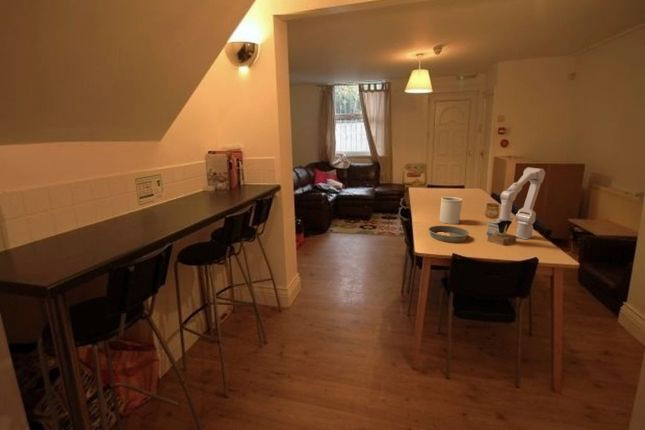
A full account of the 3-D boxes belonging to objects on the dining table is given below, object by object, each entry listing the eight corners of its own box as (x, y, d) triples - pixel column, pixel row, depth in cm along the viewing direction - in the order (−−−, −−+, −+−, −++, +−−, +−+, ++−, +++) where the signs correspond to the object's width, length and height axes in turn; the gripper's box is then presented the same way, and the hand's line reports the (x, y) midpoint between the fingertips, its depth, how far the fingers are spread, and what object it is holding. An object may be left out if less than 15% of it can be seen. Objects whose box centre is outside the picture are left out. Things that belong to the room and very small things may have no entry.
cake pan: (449, 230, 238) (450, 223, 237) (477, 240, 216) (477, 233, 215) (419, 233, 230) (420, 227, 228) (444, 245, 207) (445, 237, 206)
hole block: (500, 237, 223) (501, 232, 222) (515, 241, 215) (516, 236, 214) (487, 240, 215) (488, 235, 215) (502, 245, 207) (503, 239, 206)
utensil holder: (456, 219, 266) (459, 196, 261) (462, 224, 251) (465, 200, 247) (437, 218, 267) (439, 196, 263) (441, 224, 253) (443, 200, 248)
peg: (501, 237, 216) (503, 223, 214) (505, 238, 214) (508, 224, 212) (498, 237, 215) (500, 223, 213) (503, 239, 212) (505, 224, 210)
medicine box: (486, 234, 229) (488, 221, 227) (488, 233, 232) (490, 220, 230) (499, 237, 223) (500, 224, 221) (501, 235, 226) (503, 222, 224)
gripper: (505, 213, 203) (502, 235, 207) (519, 210, 211) (515, 232, 214) (494, 211, 209) (491, 232, 212) (507, 208, 217) (504, 229, 220)
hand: (502, 232), depth 214 cm, fingers closed on peg, 3 cm apart
